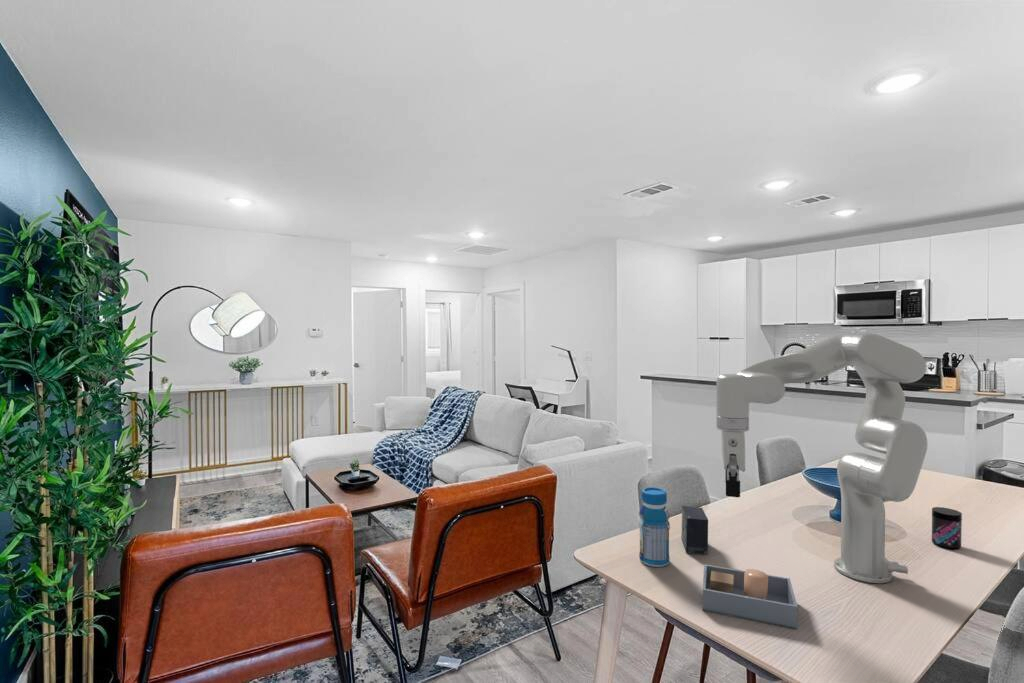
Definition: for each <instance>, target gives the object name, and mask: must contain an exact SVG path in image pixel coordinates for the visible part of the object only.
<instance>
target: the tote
mask: <svg viewBox="0 0 1024 683" xmlns="http://www.w3.org/2000/svg"><path fill="white" fill-rule="evenodd" d="M711 571H716V572H721V573H727V574H732V575H734V594H731V593H726V592H720V591H715V590H710V578H711ZM744 574H745V570H741V569H734V568H728V567H723V566H719V565H717V566H716V565H712V564H711V565H710V564H705V563H704V565H703V576H702V578H703V579H702V611H703V612H705V613H706V612H707V613H712V614H717V615H722V616H727V617H731V618H738V619H742V620H747V621H751V622H752V621H753V622H756V623H757V622H758V623H761V624H768V625H771V626H777V627H781V628H786V629H787V628H788V629H793V630H796V631H797V630H799V629H798V620H799V619H798V618H799V617H798V616H799V615H798V614H799V613H798V610H799V608H798V604H797V600H796V596H795V592H794V589H793V585H792V582H791V578H790V577H789V578H788V577H785V576H784V577H783V576H778V575H771V574H767V575H768V593H767V600H764V599H759V598H753V597H748V596H743V594H744Z"/></svg>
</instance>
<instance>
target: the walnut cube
mask: <svg viewBox="0 0 1024 683" xmlns="http://www.w3.org/2000/svg"><path fill="white" fill-rule="evenodd" d="M710 590H715V591H720V592H726V593H731V594H734V575H732V574H727V573H721V572H716V571H711V578H710Z"/></svg>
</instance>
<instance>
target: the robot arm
mask: <svg viewBox="0 0 1024 683" xmlns="http://www.w3.org/2000/svg"><path fill="white" fill-rule="evenodd" d="M925 359H926V358H924V356H923V355H922V354H921V353H920V352H919V351H917V350H915V349H913V348H911V347H909V346H906V345H904V344H902V343H899V342H898V341H894V340H892V339H889V338H887V337H884V336H882V335H879V334H876V333H871V332H840V333H835V334H833V335H831V336H829V337H827V338H824V339H823V340H820V341H818V342H815V343H814V344H811V345H809V346H807V347H805V348H802V349H800V350H798V351H795V352H791V353H787V354H782V355H780V356H777V357H773V358H770V359H766V360H763V361H759V362H757V363H755V364H752V365H750V366H748V367H746V368H744V369H742V370H740V371H738V372H737V373H725V374H724V373H722V374H720V375H718V376H717V378H716V430H720V431H721V453H722V454H721V455H722V464H723V469H724V470H725V481H724V482H725V496H726V497H731V498H741V480H740V471H741V472H742V473H744V472H746V437H745V434H746V433H745V432H748V431H750V403H754V404H764V405H769V404H771V405H772V404H775V403H777V402H779V401H781V400H782V398H784V396H785V393H786V386H785V385H786V384H787V385H788V384H804V383H805V384H806V383H811V382H816V381H819V380H820V379H823V378H826V377H827V376H829V375H831V374H834V373H835V372H837V371H840V370H842V369H844V368H846V367H847V368H848V367H850V366H852V367H854V369H855V371H856V373H857V375H858V376H859V377H860V379H861V380H862V382H863V385H864V388H865V399H864V403H863V407H862V409H861V413H860V415H859V417H858V418H859V419H858V422H857V426H856V428H855V433H854V437H855V441H856V443H857V444H858V445H859V446H861V447H863V448H864V449H867V450H870V451H872V452H876V453H880V454H884V455H885V458H881V457H877V456H874V455H871V454H867V453H863V452H847V453H846V454H843V455H842V456H841V458H840V459H839V460H838V462H837V466H836V474H837V479H838V483H839V488H840V498H841V504H840V506H841V510H840V518H841V519H840V557H838V558H836V559H834V561H833V566H834V568H835V569H836V571H838V572H839V573H840V574H842V575H844V576H846V577H848V578H851V579H854V580H857V581H859V582H865V583H869V584H870V583H871V584H886V583H889V582H891V581H892V580H893V572H896V573H899V574H907V575H908V573H909V568H908V566H907V565H903V564H899V562H898V561H895V560H888V559H886V545H885V544H886V509H885V503H884V500H886V501H888V502H889V501H890V502H894V503H895V502H896V503H899V502H900V503H901V502H904V501H906V500H908V498H909V497H910V496H911V495H912V494H913V492H914V491H915V488H916V485H917V483H918V480H919V478H920V473H921V470H922V467H923V464H924V461H925V458H926V456H927V454H926V453H927V450H928V438H927V434H926V432H925V431H924V429H923V428H922V427H921V426H920V425H919V424H917V423H916V422H912V421H909V420H903V419H902V418H903V415H904V414H903V413H904V411H905V405H906V397H905V396H906V395H905V392H904V390H903V388H902V386H901V384H903V383H904V384H909V383H914V382H917V381H919V380H921V378H923V377H924V375H925V374H926V371H927V362H926V360H925Z"/></svg>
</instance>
